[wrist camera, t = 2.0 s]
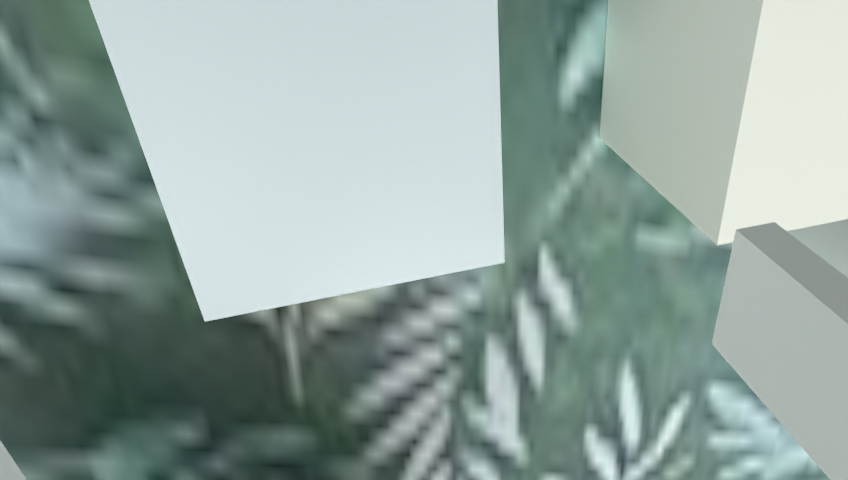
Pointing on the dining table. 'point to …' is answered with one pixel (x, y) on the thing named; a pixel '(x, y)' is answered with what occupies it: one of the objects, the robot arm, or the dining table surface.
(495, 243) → the panel
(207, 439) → the dining table surface
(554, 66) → the dining table surface
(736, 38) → the box
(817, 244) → the foam cup
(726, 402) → the dining table surface
